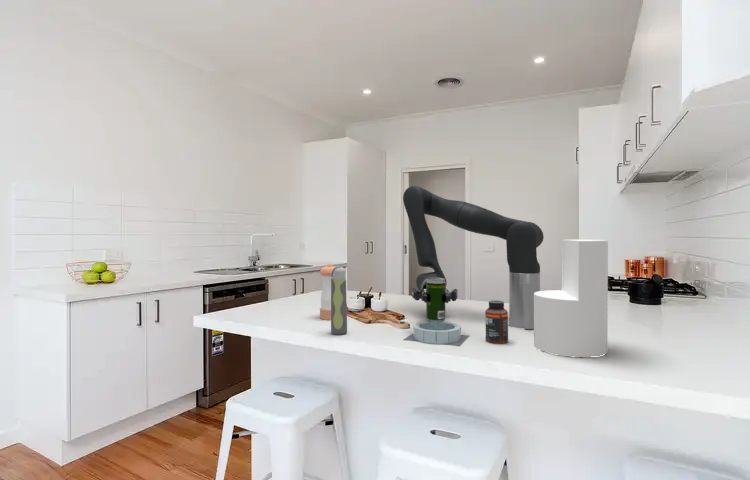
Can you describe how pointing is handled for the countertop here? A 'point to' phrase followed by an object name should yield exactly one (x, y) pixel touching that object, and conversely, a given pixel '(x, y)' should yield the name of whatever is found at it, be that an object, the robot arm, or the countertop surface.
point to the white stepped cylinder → (575, 303)
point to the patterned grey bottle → (338, 302)
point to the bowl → (437, 332)
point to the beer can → (435, 299)
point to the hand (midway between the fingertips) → (436, 299)
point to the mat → (459, 343)
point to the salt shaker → (326, 292)
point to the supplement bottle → (496, 323)
